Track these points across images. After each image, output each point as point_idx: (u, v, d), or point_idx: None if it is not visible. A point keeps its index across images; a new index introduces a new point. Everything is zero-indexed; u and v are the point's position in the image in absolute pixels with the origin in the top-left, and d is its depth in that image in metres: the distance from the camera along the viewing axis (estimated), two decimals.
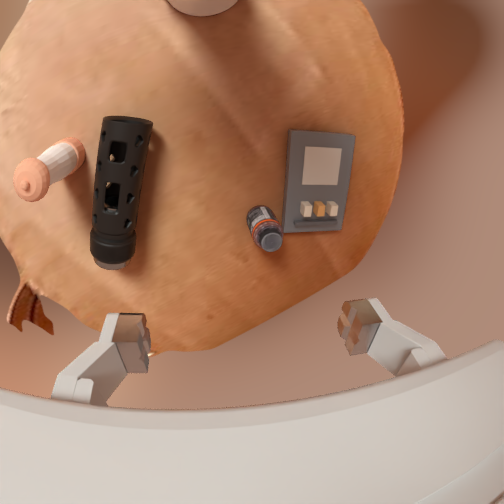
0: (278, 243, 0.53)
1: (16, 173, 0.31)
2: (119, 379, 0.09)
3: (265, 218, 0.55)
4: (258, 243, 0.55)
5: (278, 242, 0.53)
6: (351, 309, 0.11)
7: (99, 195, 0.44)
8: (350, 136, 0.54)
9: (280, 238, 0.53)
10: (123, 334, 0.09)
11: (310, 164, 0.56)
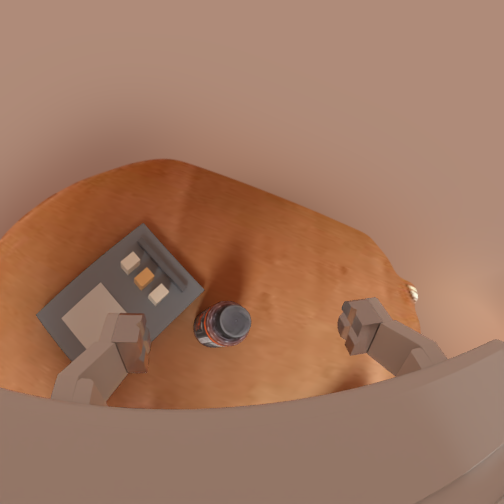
0: (230, 312, 0.34)
1: None
2: (119, 379, 0.09)
3: (212, 341, 0.36)
4: None
5: (229, 314, 0.34)
6: (351, 309, 0.11)
7: None
8: (42, 320, 0.32)
9: (222, 316, 0.33)
10: (123, 334, 0.09)
11: None
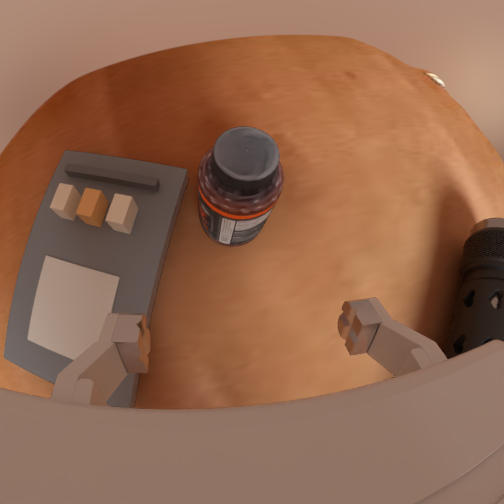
0: (227, 143, 0.16)
1: None
2: (119, 378, 0.09)
3: (236, 220, 0.20)
4: None
5: (228, 146, 0.16)
6: (351, 309, 0.11)
7: None
8: (12, 359, 0.19)
9: (218, 155, 0.16)
10: (123, 334, 0.09)
11: (92, 323, 0.21)
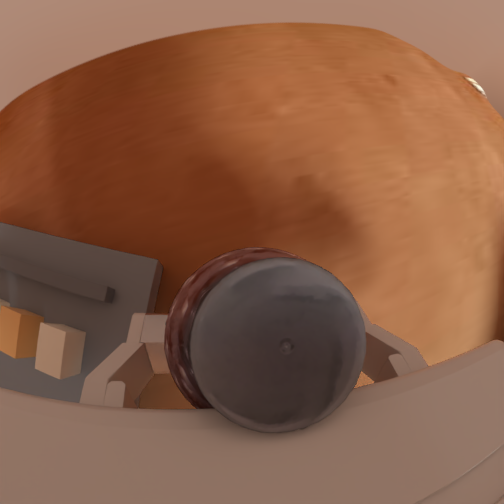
0: (229, 327, 0.06)
1: None
2: (146, 379, 0.09)
3: None
4: None
5: (232, 341, 0.06)
6: None
7: None
8: None
9: (206, 373, 0.05)
10: (152, 334, 0.09)
11: None
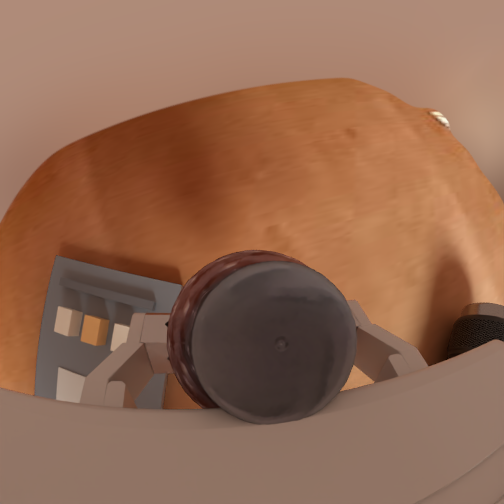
0: (228, 326, 0.06)
1: None
2: (146, 379, 0.09)
3: None
4: None
5: (231, 338, 0.06)
6: None
7: None
8: None
9: (206, 368, 0.06)
10: (152, 334, 0.09)
11: None
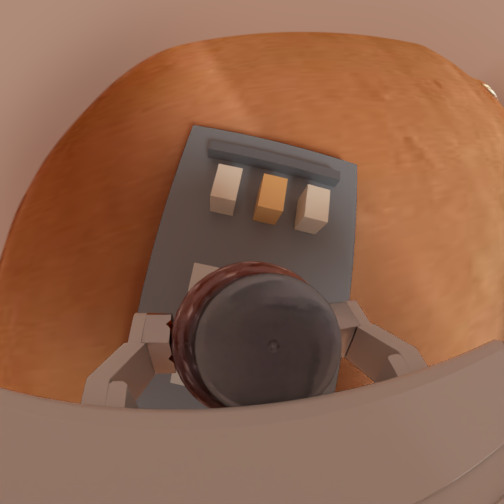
0: (227, 329, 0.07)
1: None
2: (147, 380, 0.09)
3: None
4: None
5: (229, 340, 0.07)
6: None
7: None
8: None
9: (207, 365, 0.07)
10: (153, 334, 0.09)
11: None
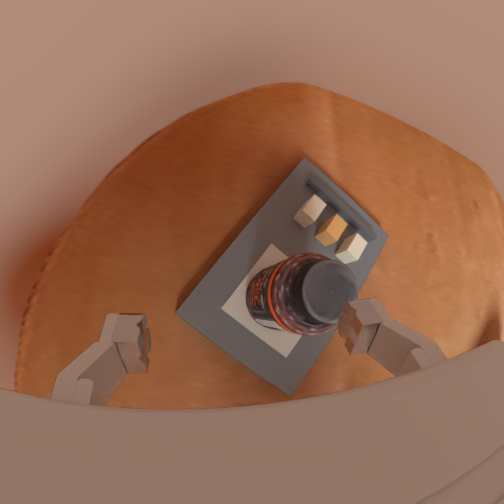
0: (320, 275, 0.17)
1: None
2: (119, 378, 0.09)
3: (285, 329, 0.20)
4: None
5: (319, 279, 0.17)
6: (351, 309, 0.11)
7: None
8: (187, 318, 0.26)
9: (307, 285, 0.17)
10: (123, 334, 0.09)
11: None
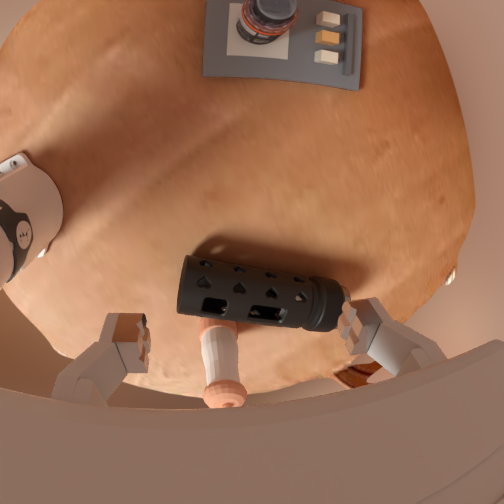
0: None
1: None
2: (119, 379, 0.09)
3: (241, 12, 0.23)
4: (283, 25, 0.23)
5: None
6: (351, 309, 0.11)
7: (261, 323, 0.45)
8: None
9: None
10: (123, 334, 0.09)
11: (255, 46, 0.31)
